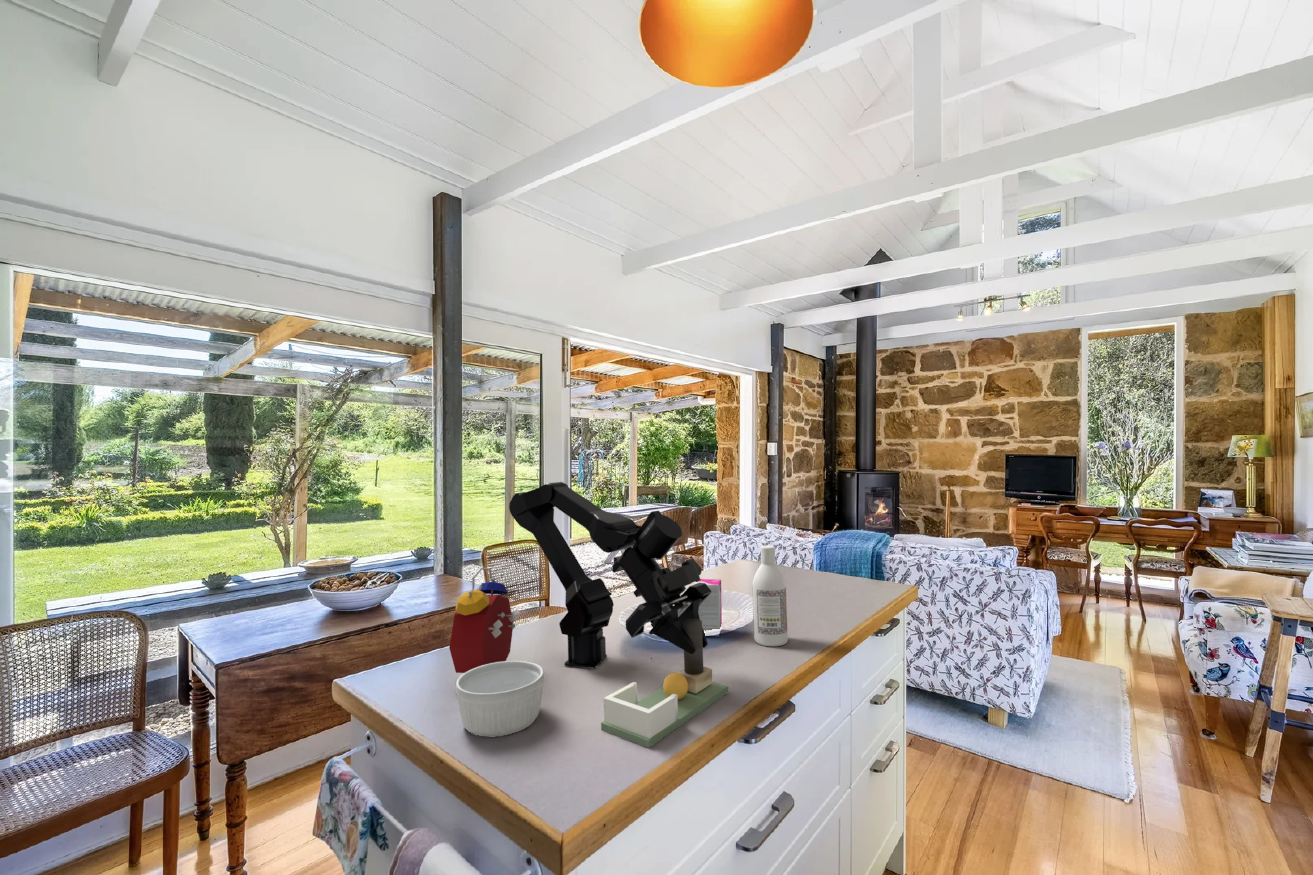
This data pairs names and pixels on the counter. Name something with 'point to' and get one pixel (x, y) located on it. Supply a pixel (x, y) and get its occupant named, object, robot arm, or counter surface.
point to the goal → (639, 712)
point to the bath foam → (769, 602)
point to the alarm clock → (482, 626)
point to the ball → (675, 685)
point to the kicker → (695, 659)
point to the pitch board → (686, 711)
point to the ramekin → (500, 697)
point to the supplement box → (711, 606)
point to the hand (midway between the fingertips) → (700, 649)
